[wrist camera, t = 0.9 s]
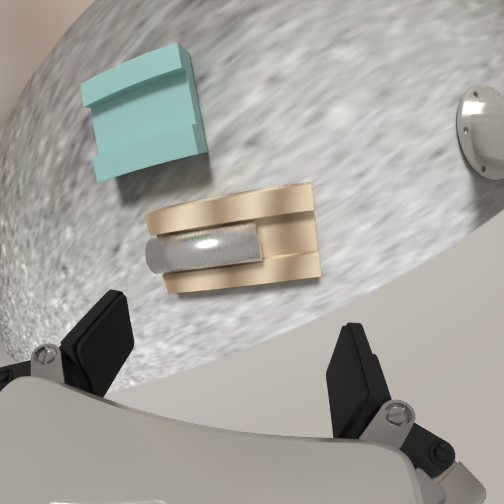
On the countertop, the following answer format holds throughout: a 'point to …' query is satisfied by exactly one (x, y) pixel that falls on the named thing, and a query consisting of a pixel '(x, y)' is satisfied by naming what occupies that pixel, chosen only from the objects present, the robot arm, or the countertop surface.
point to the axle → (205, 248)
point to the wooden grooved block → (271, 231)
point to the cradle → (144, 112)
